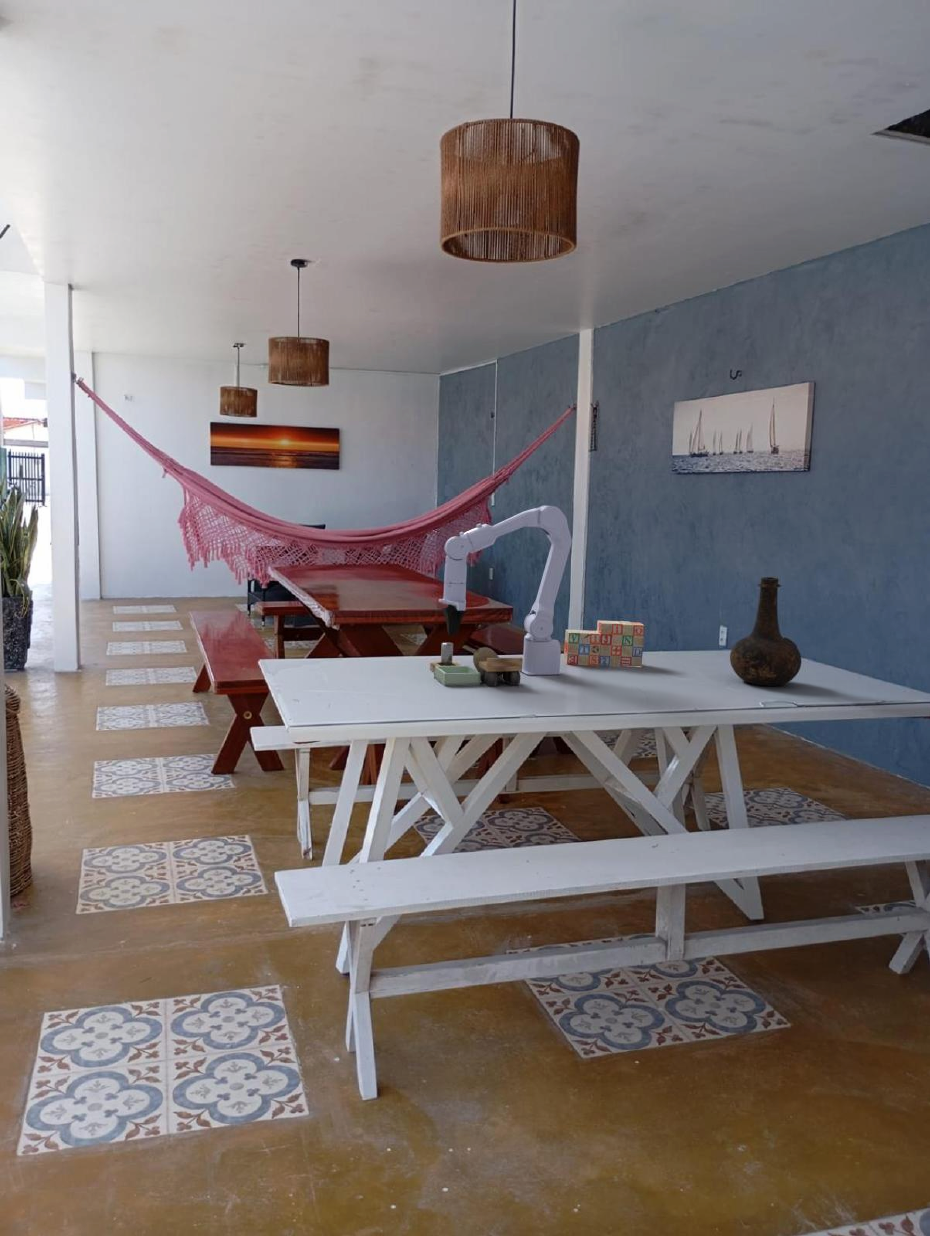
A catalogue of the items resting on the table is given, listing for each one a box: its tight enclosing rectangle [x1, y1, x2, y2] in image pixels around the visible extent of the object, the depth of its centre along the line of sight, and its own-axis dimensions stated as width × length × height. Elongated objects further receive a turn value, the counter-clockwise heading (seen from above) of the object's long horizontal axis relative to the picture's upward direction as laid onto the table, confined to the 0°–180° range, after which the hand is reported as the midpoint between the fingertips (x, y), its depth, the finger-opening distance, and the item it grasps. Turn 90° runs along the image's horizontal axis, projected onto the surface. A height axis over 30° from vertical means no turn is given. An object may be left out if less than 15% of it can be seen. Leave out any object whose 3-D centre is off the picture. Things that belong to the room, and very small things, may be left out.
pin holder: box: [429, 661, 463, 673], centre depth 254 cm, size 7×7×2 cm
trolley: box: [479, 657, 523, 687], centre depth 241 cm, size 9×8×7 cm
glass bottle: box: [729, 576, 802, 687], centre depth 255 cm, size 18×18×28 cm
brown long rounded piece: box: [472, 646, 503, 678], centre depth 251 cm, size 15×7×7 cm, turn 12°
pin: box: [440, 642, 454, 666], centre depth 253 cm, size 3×3×8 cm
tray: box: [433, 665, 481, 687], centre depth 241 cm, size 9×10×3 cm
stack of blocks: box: [563, 619, 645, 667], centre depth 275 cm, size 21×6×12 cm, turn 92°
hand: (452, 634), depth 254 cm, fingers closed
